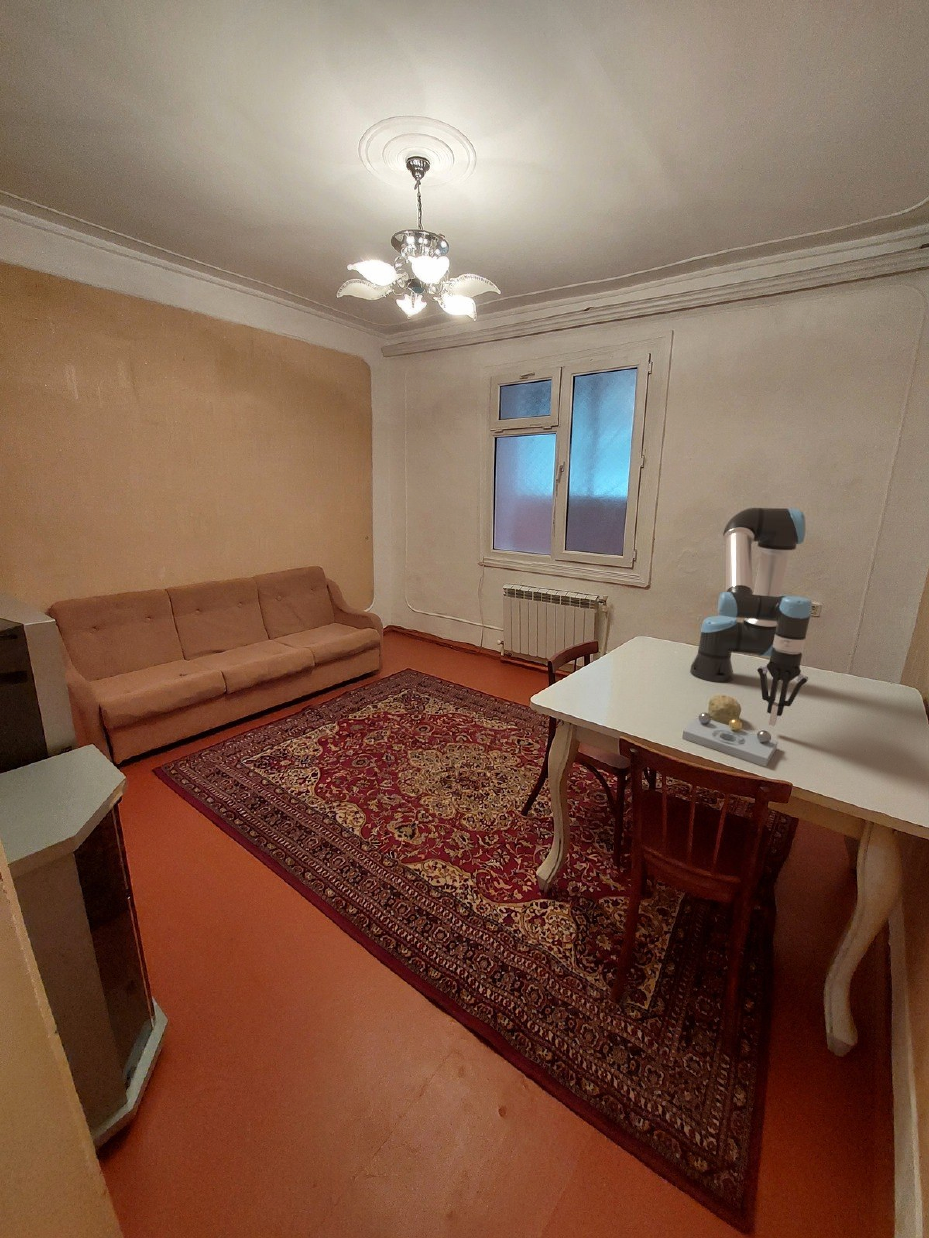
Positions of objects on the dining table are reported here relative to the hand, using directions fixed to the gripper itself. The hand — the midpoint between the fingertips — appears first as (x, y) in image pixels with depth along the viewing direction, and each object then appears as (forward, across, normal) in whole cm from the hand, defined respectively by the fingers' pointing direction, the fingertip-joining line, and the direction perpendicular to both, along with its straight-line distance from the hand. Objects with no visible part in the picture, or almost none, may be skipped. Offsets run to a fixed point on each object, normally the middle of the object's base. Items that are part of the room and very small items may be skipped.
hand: (772, 723), depth 152 cm
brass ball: (-1, -8, -11) cm, 13 cm away
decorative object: (+4, -14, 0) cm, 14 cm away
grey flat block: (+3, -8, -15) cm, 17 cm away
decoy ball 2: (-1, 0, -13) cm, 13 cm away
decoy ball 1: (-1, -16, -13) cm, 20 cm away
